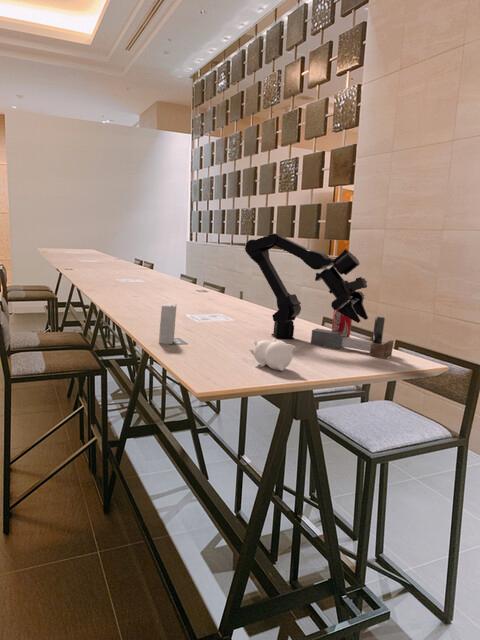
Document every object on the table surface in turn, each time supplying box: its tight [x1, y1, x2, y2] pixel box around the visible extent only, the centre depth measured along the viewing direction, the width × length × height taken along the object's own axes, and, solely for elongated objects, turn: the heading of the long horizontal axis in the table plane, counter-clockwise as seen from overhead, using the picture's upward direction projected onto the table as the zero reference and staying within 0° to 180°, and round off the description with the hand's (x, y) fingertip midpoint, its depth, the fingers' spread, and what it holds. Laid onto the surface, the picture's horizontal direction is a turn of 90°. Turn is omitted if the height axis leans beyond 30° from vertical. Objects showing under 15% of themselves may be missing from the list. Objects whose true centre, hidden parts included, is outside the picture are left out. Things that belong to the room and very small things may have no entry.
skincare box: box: [158, 302, 177, 345], centre depth 152 cm, size 6×4×12 cm
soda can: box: [331, 308, 353, 337], centre depth 182 cm, size 7×7×12 cm
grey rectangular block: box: [310, 327, 346, 350], centre depth 166 cm, size 10×5×5 cm, turn 60°
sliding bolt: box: [341, 316, 386, 352], centre depth 160 cm, size 17×3×12 cm, turn 60°
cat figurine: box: [249, 338, 295, 372], centre depth 132 cm, size 9×11×12 cm
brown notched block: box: [369, 339, 394, 360], centre depth 157 cm, size 6×7×5 cm
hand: (363, 320), depth 159 cm, fingers open, 9 cm apart
